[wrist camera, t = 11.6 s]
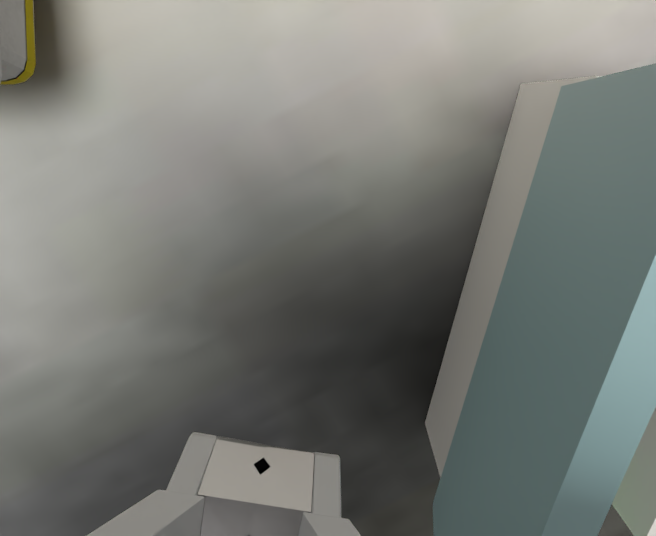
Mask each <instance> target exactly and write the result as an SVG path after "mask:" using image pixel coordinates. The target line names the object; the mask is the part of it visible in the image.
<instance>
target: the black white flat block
mask: <svg viewBox="0 0 656 536" xmlns="http://www.w3.org/2000/svg"><path fill="white" fill-rule="evenodd" d="M35 65H36V55H35V28H34V1H33V0H0V85H15V84H19V83H23V82H26V81H27V80H28V79H29V78H30V77H31V76H32V75H33V73H34V69H35Z"/></svg>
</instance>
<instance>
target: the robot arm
mask: <svg viewBox="0 0 656 536" xmlns="http://www.w3.org/2000/svg"><path fill="white" fill-rule="evenodd" d="M87 536H361V535H360V533H359V532H358V531H357V529H356V528H355V527H354V525H353V524H352V523H351V521H350V520H349V519H345V518H341V474H340V457H339V455H335V454H327V453H320V452H314V453H313V452H308V451H301V450H295V449H288V448H282V447H276V446H269V445H265V444H259V443H254V442H248V441H243V440H238V439H232V438H227V437H221V436H218V437H217V436H214V435H209V434H203V433H197V432H193V433H192V434H191V435H190V436H189V438H188V441H187V443H186V445H185V448H184V450H183V452H182V455H181V457H180V459H179V462H178V464H177V466H176V468H175V471H174V473H173V475H172V478H171V480H170V482H169V485H168V487H167V489H166V491H165V490H157V491H155V492H154V493H152V494H150V495H149V496H147V497H146V498H144V499H143V500H141V501H140V502H138V503H136V504H135V505H133V506H132V507H130V508H129V509H127V510H126V511H124V512H123V513H121V514H119V515H118V516H116V517H115V518H113V519H112V520H110V521H109V522H107V523H105V524H104V525H102V526H101V527H99V528H98V529H96V530H95V531H93V532H91V533H90V534H88V535H87Z"/></svg>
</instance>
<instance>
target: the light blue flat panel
mask: <svg viewBox="0 0 656 536" xmlns="http://www.w3.org/2000/svg"><path fill="white" fill-rule="evenodd" d="M655 407H656V64H652V65H648V66H643V67H639V68H635V69H631V70H627V71H623V72H619V73H614V74H610V75H606V76H602V77H598V78H594V79H589V80H585V81H581V82H577V83H573V84H569V85H564V86H561V89H560V92H559V96H558V99H557V102H556V105H555V109H554V112H553V115H552V118H551V122H550V125H549V128H548V131H547V135H546V138H545V141H544V144H543V148H542V151H541V154H540V157H539V161H538V164H537V167H536V170H535V174H534V177H533V180H532V183H531V187H530V190H529V193H528V196H527V199H526V203H525V206H524V209H523V212H522V216H521V219H520V222H519V225H518V229H517V232H516V235H515V238H514V242H513V245H512V248H511V251H510V255H509V258H508V261H507V264H506V268H505V271H504V274H503V277H502V281H501V284H500V287H499V290H498V294H497V297H496V300H495V303H494V307H493V310H492V313H491V316H490V320H489V323H488V326H487V329H486V333H485V336H484V339H483V342H482V345H481V349H480V352H479V355H478V358H477V362H476V365H475V368H474V371H473V375H472V378H471V381H470V384H469V388H468V391H467V394H466V397H465V401H464V404H463V407H462V410H461V414H460V417H459V420H458V423H457V427H456V430H455V433H454V436H453V440H452V443H451V446H450V449H449V453H448V456H447V459H446V462H445V466H444V469H443V472H442V475H441V479H440V482H439V485H438V488H437V491H436V495H435V498H434V501H433V529H434V536H597V535H598V533H599V531H600V528H601V526H602V524H603V522H604V520H605V517H606V515H607V513H608V511H609V509H610V506H611V504H612V502H613V500H614V498H615V495H616V493H617V491H618V489H619V487H620V484H621V482H622V480H623V478H624V475H625V473H626V471H627V469H628V467H629V464H630V462H631V460H632V458H633V456H634V453H635V451H636V449H637V447H638V445H639V442H640V440H641V438H642V436H643V434H644V431H645V429H646V427H647V425H648V423H649V420H650V418H651V416H652V414H653V412H654V409H655Z"/></svg>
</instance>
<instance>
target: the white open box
mask: <svg viewBox="0 0 656 536" xmlns="http://www.w3.org/2000/svg"><path fill="white" fill-rule="evenodd" d="M598 77H601V76H590V77H581V78H571V79H561V80H551V81H542V82H532V83H522V84H521V85H520V89H519V92H518V96H517V99H516V103H515V106H514V110H513V113H512V117H511V120H510V124H509V127H508V131H507V135H506V138H505V142H504V145H503V149H502V152H501V156H500V159H499V163H498V166H497V170H496V173H495V177H494V180H493V184H492V187H491V191H490V195H489V198H488V202H487V205H486V209H485V212H484V216H483V219H482V223H481V226H480V230H479V233H478V237H477V240H476V244H475V247H474V251H473V255H472V258H471V262H470V265H469V269H468V272H467V276H466V279H465V283H464V286H463V290H462V293H461V297H460V300H459V304H458V308H457V311H456V315H455V318H454V322H453V325H452V329H451V332H450V336H449V339H448V343H447V346H446V350H445V353H444V357H443V360H442V364H441V368H440V371H439V375H438V378H437V382H436V385H435V389H434V392H433V396H432V399H431V403H430V406H429V410H428V413H427V417H426V420H425V426H426V430H427V433H428V436H429V440H430V443H431V447H432V450H433V454H434V457H435V461H436V464H437V468H438V471H439V475H440V478H441V475H442V472H443V469H444V466H445V462H446V459H447V456H448V453H449V449H450V446H451V443H452V440H453V436H454V433H455V430H456V427H457V423H458V420H459V417H460V414H461V410H462V407H463V404H464V401H465V397H466V394H467V391H468V388H469V384H470V381H471V378H472V375H473V371H474V368H475V365H476V362H477V358H478V355H479V352H480V349H481V345H482V342H483V339H484V336H485V333H486V329H487V326H488V323H489V320H490V316H491V313H492V310H493V307H494V303H495V300H496V297H497V294H498V290H499V287H500V284H501V281H502V277H503V274H504V271H505V268H506V264H507V261H508V258H509V255H510V251H511V248H512V245H513V242H514V238H515V235H516V232H517V229H518V225H519V222H520V219H521V216H522V212H523V209H524V206H525V203H526V199H527V196H528V193H529V190H530V187H531V183H532V180H533V177H534V174H535V170H536V167H537V164H538V161H539V157H540V154H541V151H542V148H543V144H544V141H545V138H546V135H547V131H548V128H549V125H550V122H551V118H552V115H553V112H554V109H555V105H556V102H557V99H558V96H559V92H560V89H561V86H564V85H569V84H573V83H577V82H581V81H585V80H589V79H594V78H598ZM612 505H613V506H614V508H615V509H616V510H617V512H618V513H619V515H620V516H621V518H622V519H623V521H624V522H625V523H626V525H627V526H628V528H629V529H630V531H631V532H632V533H633V535H634V536H656V407H655V409H654V412H653V414H652V416H651V418H650V420H649V423H648V425H647V427H646V429H645V431H644V434H643V436H642V438H641V440H640V442H639V445H638V447H637V449H636V451H635V453H634V456H633V458H632V460H631V462H630V464H629V467H628V469H627V471H626V473H625V475H624V478H623V480H622V482H621V484H620V487H619V489H618V491H617V493H616V495H615V498H614V500H613V502H612Z"/></svg>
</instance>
